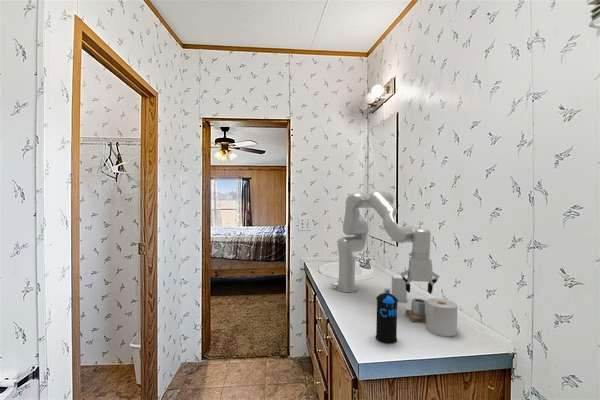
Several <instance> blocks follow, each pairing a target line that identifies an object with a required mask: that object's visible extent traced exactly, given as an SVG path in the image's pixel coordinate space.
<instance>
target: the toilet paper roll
mask: <svg viewBox="0 0 600 400" xmlns="http://www.w3.org/2000/svg"><path fill="white" fill-rule="evenodd" d="M426 301H427V305H426V323H425V328H426V330H427V331H428V332H430V333H431V334H433V335H437V336H440V337H455V336H456V335H457V331H458V330H457V329H458V304H457V303H456V302H454V301H453V300H450V299H446V298H445V299H444V298H433V297H432V298H428V299H427V300H426Z"/></svg>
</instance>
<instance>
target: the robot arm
mask: <svg viewBox="0 0 600 400" xmlns="http://www.w3.org/2000/svg"><path fill="white" fill-rule="evenodd" d="M394 202H395V199H394V196H393V194H391V193H390V192H388V191H373V192H354V193H351V194H349V195H348V196H347V197H346V199H345V213H344V218H343V224H342V232H343V234H344V235H346V236H342V237H340V238H339V239H338V241H337V243H336V244H337V251H338V280H337V281H331V282H330V285H331V286H332V287H335V290H336V291H338V292H342V293H354V292H357V291H358V287H357V286H356V284H355V282H356V281H355V280H356V279H355V278H356V277H355V276H356V273H355V272H356V258H355V256H354V254H353V253H357V252H361V251H363V250H364V248H365V246H366V242H367V237H368V236H367V235H368V233H369V232H368V231H369V226H368V223H367V221H366V220H364V219H362V218H360V215H361V214H360V213H361V212H360V209H362V208H363V209H366V208H367V209H369V208H370V209H373V210H374V211H375V212H376V213H377V214H378V215H379V217H380V218H382V225H383V229H384V231H385V232H386V234H387V236H389V238H390V239H392V240H393V241H394V242H395V243H399V244H404V243H412V249H411V252H409V253H408V255H409V256H411V257H410V258H409V261H408V267H407V270H404V271H402V272H400V273H399V275H401V277H402V279H403V280H404V281H405V282H406V290H407V294H410V293H411V282H425V283H426V282H428V283H427V293H428V294H430V295H432V292H433V291H434V290H433V287H434V285H435V284H436V283H437V282H438V281H439V278H440V275H439V274H437V273H435V272H434V271H433V263H432V259H431V258H430V253H431V252H430V250H431V231H430V230H429V229H426V228H418V227H415V226H400V225H399V224H398V223H397V222H396V221H395V219H394V218H395V217H396V215H397V213H398V211H397V208H396V207H395V206H394V205H393V204H394ZM405 276H407V277H406V278H407V279H406V278H405Z"/></svg>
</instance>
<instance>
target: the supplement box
mask: <svg viewBox="0 0 600 400" xmlns="http://www.w3.org/2000/svg"><path fill="white" fill-rule="evenodd" d="M405 278H406V279H407V278H408V277H407V275H405ZM390 294H392V295H394V296H395V297H396V298H397V299H398V302H397V303H407V301H408V292H407V290H406V282H405V281H404V280H403V279H402V277H401V275H400V274H391V292H390Z"/></svg>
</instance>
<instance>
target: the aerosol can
mask: <svg viewBox="0 0 600 400" xmlns="http://www.w3.org/2000/svg"><path fill="white" fill-rule="evenodd" d="M390 291H391V289H390V287H384V292H382V293H379V295H377V296H376V323H375V324H376V326H375V327H376V331H375V332H376V333H375V334H376V335H375V339H376V340H377V341H378V342H381V343H384V344H394V343H396V342H397V341H398V338H397V336H398V335H397V334H398V333H397V330H398V329H397V328H398V327H397V326H398V303H399V302H398V299H397V298H396V297H395V296H394V295H392V294H391V292H390Z"/></svg>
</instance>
